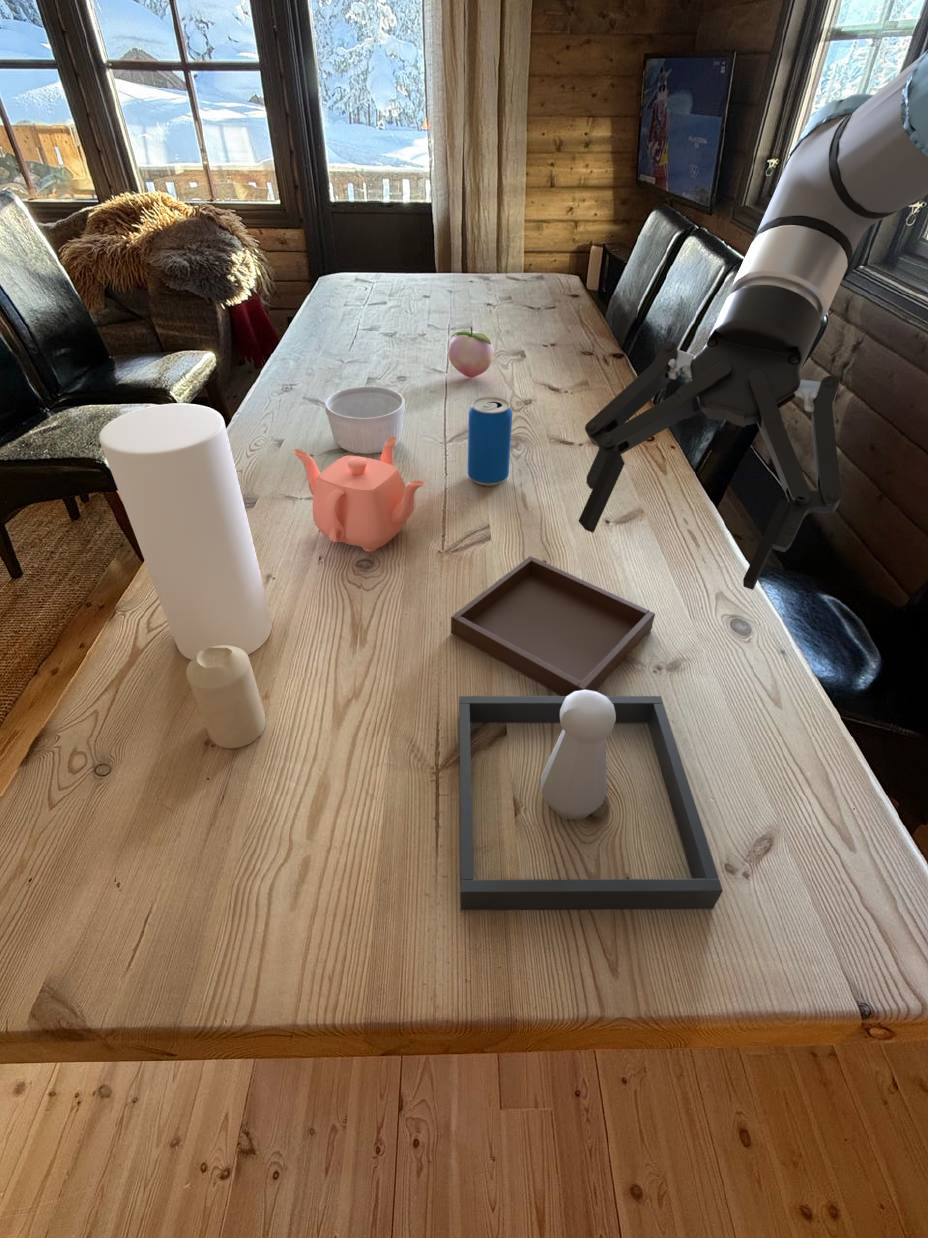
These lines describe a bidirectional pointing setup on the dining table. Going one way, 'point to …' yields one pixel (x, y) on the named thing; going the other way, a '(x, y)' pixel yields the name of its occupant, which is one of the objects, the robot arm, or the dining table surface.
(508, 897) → the open gray frame
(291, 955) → the dining table surface
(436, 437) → the dining table surface
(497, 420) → the beverage can
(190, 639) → the tall pillar cylinder
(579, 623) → the tray
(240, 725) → the candle
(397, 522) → the teapot
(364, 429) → the ramekin
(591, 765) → the salt shaker
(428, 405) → the dining table surface
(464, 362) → the decorative fruit
